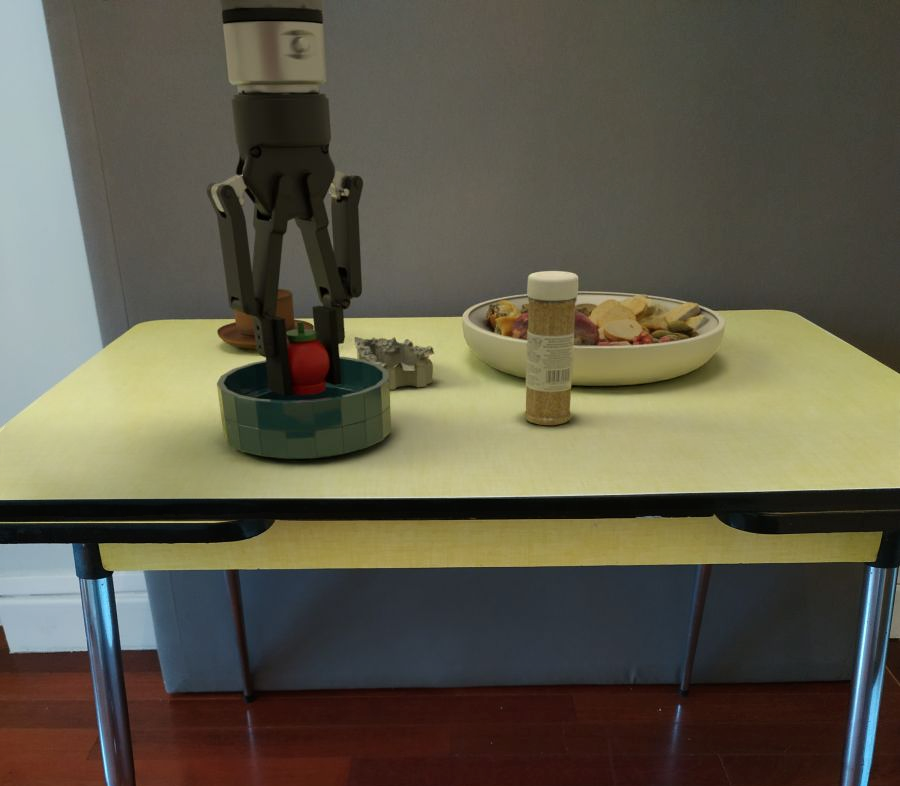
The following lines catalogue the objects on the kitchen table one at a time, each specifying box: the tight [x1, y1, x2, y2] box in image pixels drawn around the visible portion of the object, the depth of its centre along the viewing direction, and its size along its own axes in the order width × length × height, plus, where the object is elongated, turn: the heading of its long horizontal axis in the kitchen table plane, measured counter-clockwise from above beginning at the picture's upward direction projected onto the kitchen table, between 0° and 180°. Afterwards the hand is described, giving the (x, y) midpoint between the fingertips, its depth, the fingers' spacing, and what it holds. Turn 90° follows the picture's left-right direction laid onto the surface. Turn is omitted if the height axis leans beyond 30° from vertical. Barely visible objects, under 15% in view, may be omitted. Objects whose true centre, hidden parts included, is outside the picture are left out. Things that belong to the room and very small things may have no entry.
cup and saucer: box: [216, 288, 314, 350], centre depth 114 cm, size 12×12×6 cm
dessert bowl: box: [216, 356, 392, 460], centre depth 83 cm, size 15×15×6 cm
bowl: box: [461, 291, 726, 387], centre depth 106 cm, size 30×30×8 cm
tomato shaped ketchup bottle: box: [286, 320, 329, 395], centre depth 81 cm, size 5×5×6 cm
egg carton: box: [354, 336, 435, 391], centre depth 101 cm, size 11×8×4 cm
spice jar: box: [523, 270, 579, 426], centre depth 85 cm, size 5×5×13 cm
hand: (305, 386), depth 82 cm, fingers closed on tomato shaped ketchup bottle, 4 cm apart
